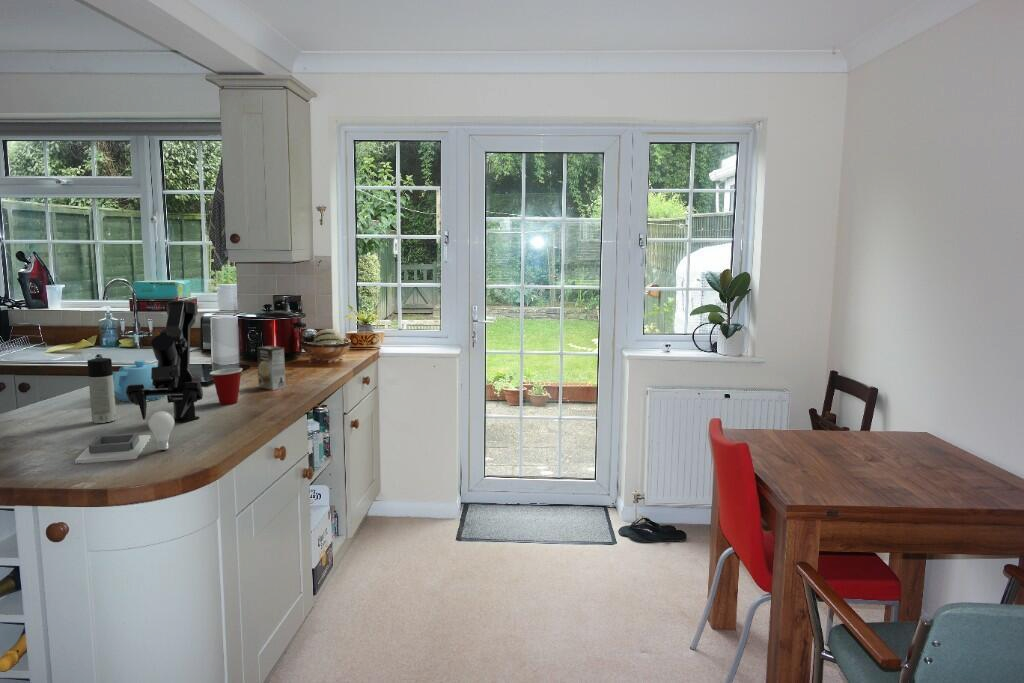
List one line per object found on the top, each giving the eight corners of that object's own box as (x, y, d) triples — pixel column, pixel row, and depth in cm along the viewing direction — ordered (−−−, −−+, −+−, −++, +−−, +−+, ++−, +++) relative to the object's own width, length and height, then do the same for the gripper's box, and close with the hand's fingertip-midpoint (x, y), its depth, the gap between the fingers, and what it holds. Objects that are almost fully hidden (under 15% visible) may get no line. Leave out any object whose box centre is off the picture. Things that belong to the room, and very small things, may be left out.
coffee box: (257, 387, 268) (255, 347, 265) (271, 384, 273) (269, 345, 271) (273, 390, 263) (271, 349, 260) (286, 387, 268) (284, 347, 266)
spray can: (121, 419, 218) (116, 358, 215) (102, 425, 212) (97, 361, 209) (106, 417, 220) (101, 357, 217) (86, 423, 214) (81, 360, 211)
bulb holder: (95, 442, 194) (94, 432, 193) (150, 438, 198) (149, 428, 197) (75, 463, 175) (74, 452, 174) (136, 459, 179) (135, 447, 179)
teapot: (108, 404, 238) (105, 365, 236) (118, 393, 255) (116, 357, 253) (169, 401, 244) (166, 363, 242) (175, 390, 262) (173, 355, 260)
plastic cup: (217, 399, 247) (215, 367, 245) (248, 399, 247) (246, 366, 246) (206, 406, 236) (204, 372, 234) (238, 406, 237) (237, 372, 235)
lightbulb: (165, 454, 183) (162, 414, 181) (145, 452, 184) (142, 413, 183) (181, 447, 189) (178, 409, 188) (161, 446, 190) (158, 407, 189)
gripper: (125, 356, 187) (116, 404, 178) (198, 353, 192) (194, 400, 183) (134, 378, 195) (126, 425, 186) (204, 375, 201) (200, 421, 192)
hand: (162, 417), depth 187 cm, fingers open, 9 cm apart
